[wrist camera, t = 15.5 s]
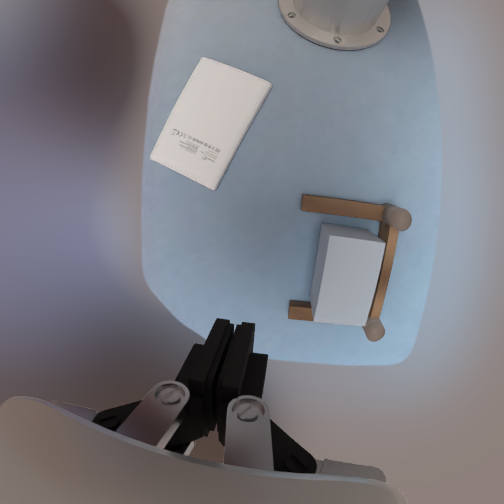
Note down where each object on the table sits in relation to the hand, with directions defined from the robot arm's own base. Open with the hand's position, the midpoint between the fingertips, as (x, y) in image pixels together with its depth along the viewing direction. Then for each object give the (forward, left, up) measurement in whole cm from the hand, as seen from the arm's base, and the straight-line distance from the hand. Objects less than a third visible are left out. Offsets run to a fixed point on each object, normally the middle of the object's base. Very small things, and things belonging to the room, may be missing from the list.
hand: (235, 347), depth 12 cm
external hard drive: (-13, -7, -19) cm, 24 cm away
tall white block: (+1, +8, -18) cm, 20 cm away
